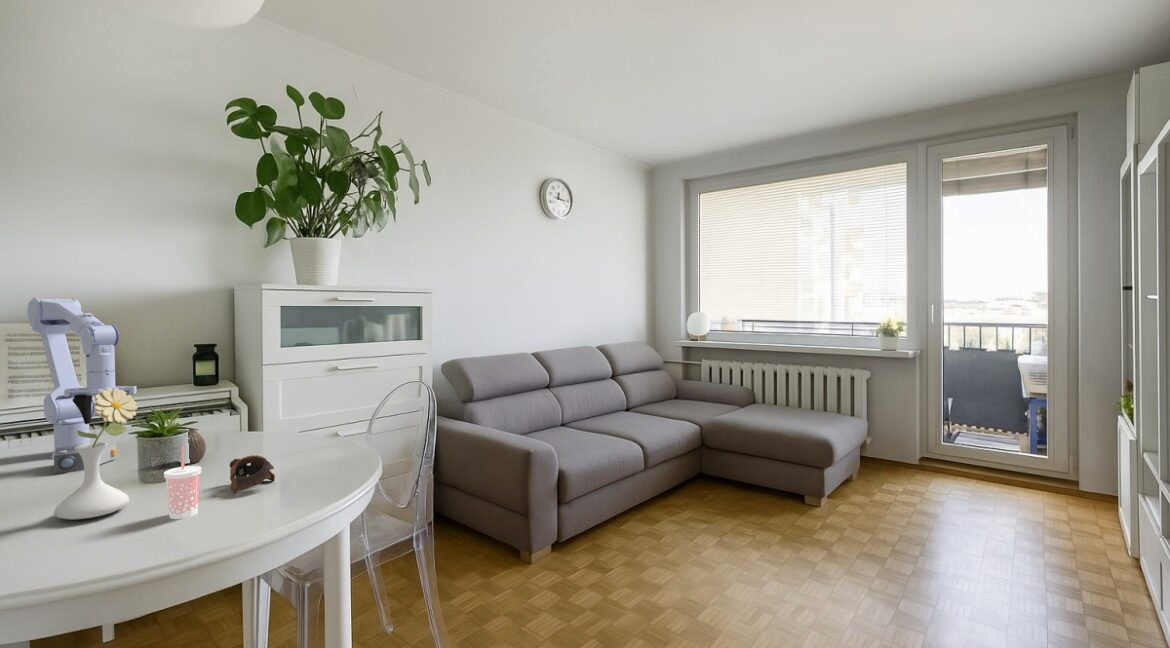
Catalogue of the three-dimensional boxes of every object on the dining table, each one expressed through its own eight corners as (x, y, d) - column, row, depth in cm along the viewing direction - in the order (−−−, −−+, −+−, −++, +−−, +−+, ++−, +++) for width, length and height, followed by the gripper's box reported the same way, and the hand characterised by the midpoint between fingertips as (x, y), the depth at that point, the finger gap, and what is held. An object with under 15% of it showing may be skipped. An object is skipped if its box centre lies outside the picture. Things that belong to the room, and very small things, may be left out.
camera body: (57, 464, 144) (56, 445, 144) (88, 460, 148) (87, 441, 148) (54, 475, 136) (53, 454, 135) (87, 470, 140) (86, 450, 139)
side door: (113, 458, 149) (112, 444, 149) (118, 458, 149) (118, 443, 149) (88, 467, 141) (88, 452, 141) (94, 467, 141) (94, 452, 141)
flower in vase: (65, 530, 104) (61, 396, 103) (45, 517, 110) (41, 390, 109) (149, 508, 115) (146, 387, 114) (126, 497, 121) (123, 382, 120)
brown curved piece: (287, 483, 133) (280, 459, 128) (254, 513, 125) (245, 488, 121) (249, 466, 136) (241, 441, 131) (214, 493, 128) (204, 468, 124)
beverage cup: (180, 508, 115) (179, 441, 114) (209, 509, 114) (208, 441, 114) (156, 520, 108) (155, 449, 108) (187, 520, 108) (186, 449, 108)
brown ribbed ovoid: (212, 459, 150) (211, 427, 150) (191, 466, 144) (191, 432, 143) (188, 458, 151) (188, 426, 151) (167, 465, 144) (166, 432, 144)
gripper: (57, 374, 140) (59, 427, 140) (129, 371, 145) (130, 423, 146) (71, 370, 146) (72, 422, 147) (138, 368, 152) (140, 418, 152)
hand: (102, 422), depth 147 cm, fingers open, 5 cm apart
